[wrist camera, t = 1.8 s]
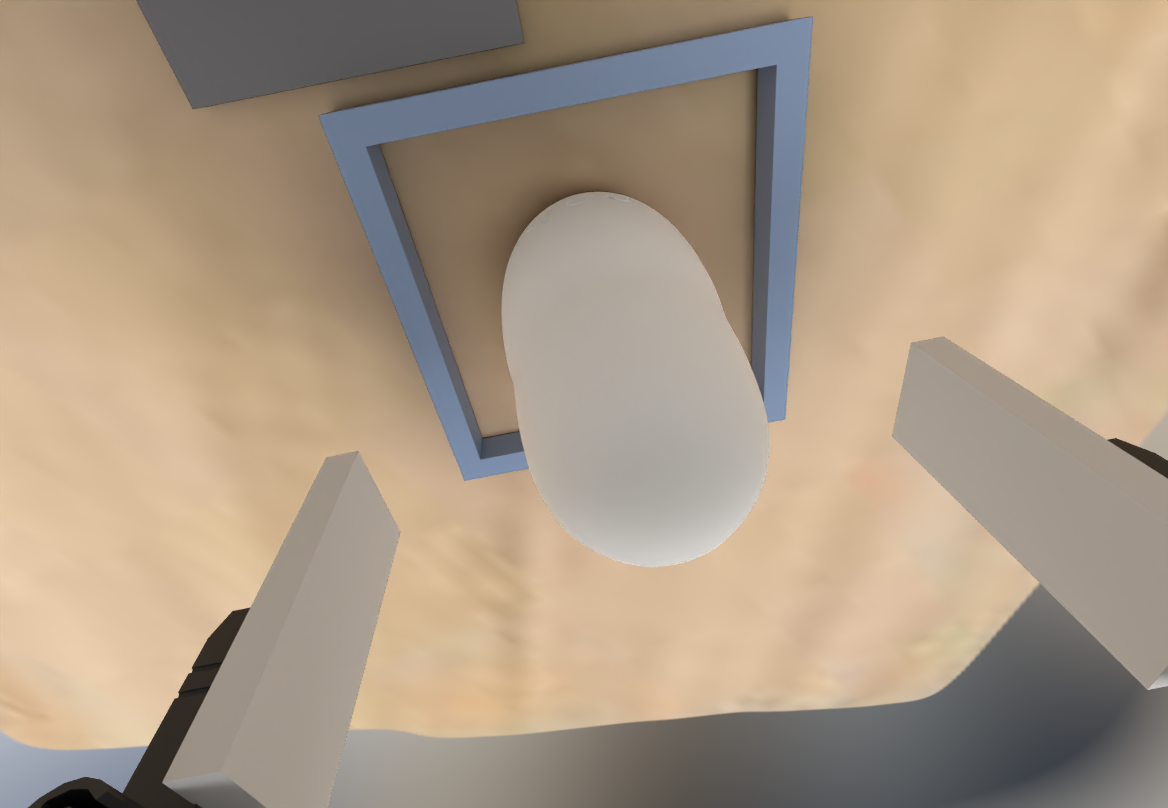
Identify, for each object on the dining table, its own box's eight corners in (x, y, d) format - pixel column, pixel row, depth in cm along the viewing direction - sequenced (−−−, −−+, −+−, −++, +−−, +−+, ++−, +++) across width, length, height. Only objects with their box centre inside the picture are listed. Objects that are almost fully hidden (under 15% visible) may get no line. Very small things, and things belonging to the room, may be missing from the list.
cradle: (333, 110, 16) (318, 115, 15) (790, 19, 16) (812, 16, 15) (467, 459, 24) (464, 480, 23) (771, 400, 24) (785, 419, 23)
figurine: (541, 388, 23) (555, 646, 13) (471, 217, 18) (411, 404, 9) (699, 340, 22) (843, 571, 12) (665, 152, 18) (842, 272, 8)
